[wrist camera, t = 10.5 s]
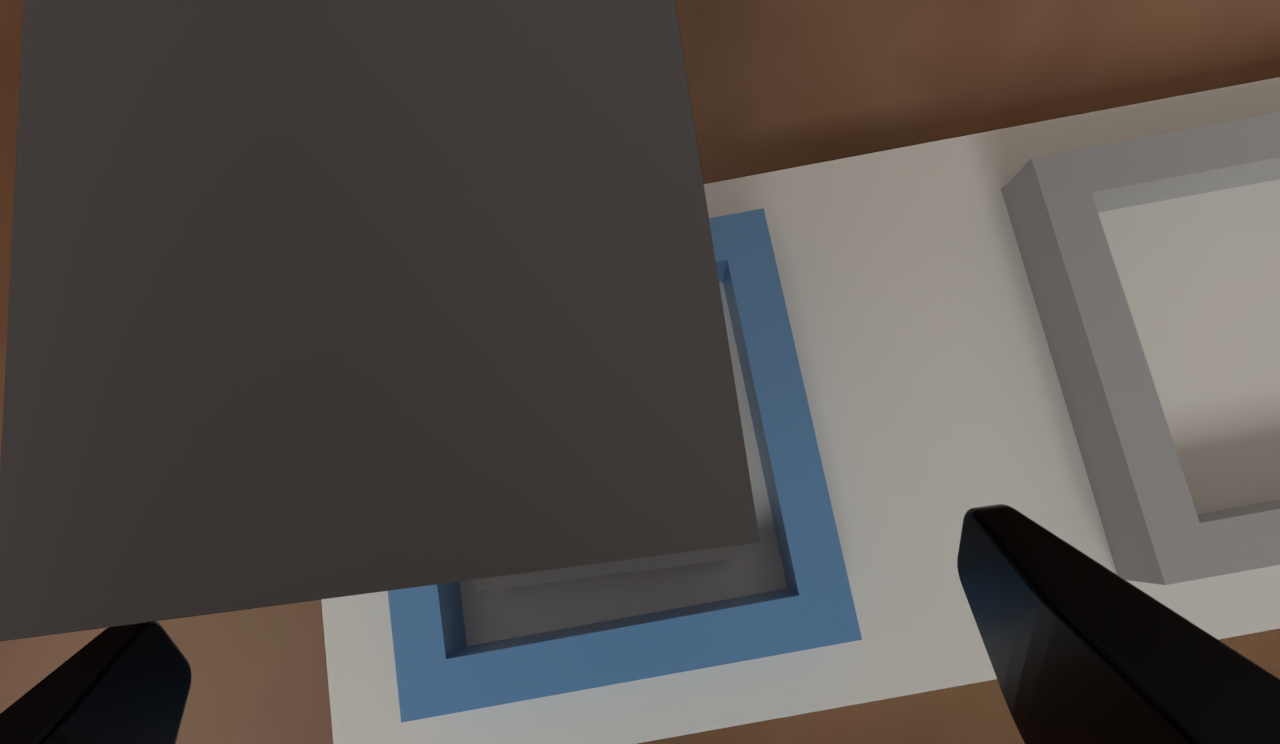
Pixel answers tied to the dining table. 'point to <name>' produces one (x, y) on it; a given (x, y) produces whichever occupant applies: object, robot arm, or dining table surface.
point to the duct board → (912, 435)
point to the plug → (356, 306)
